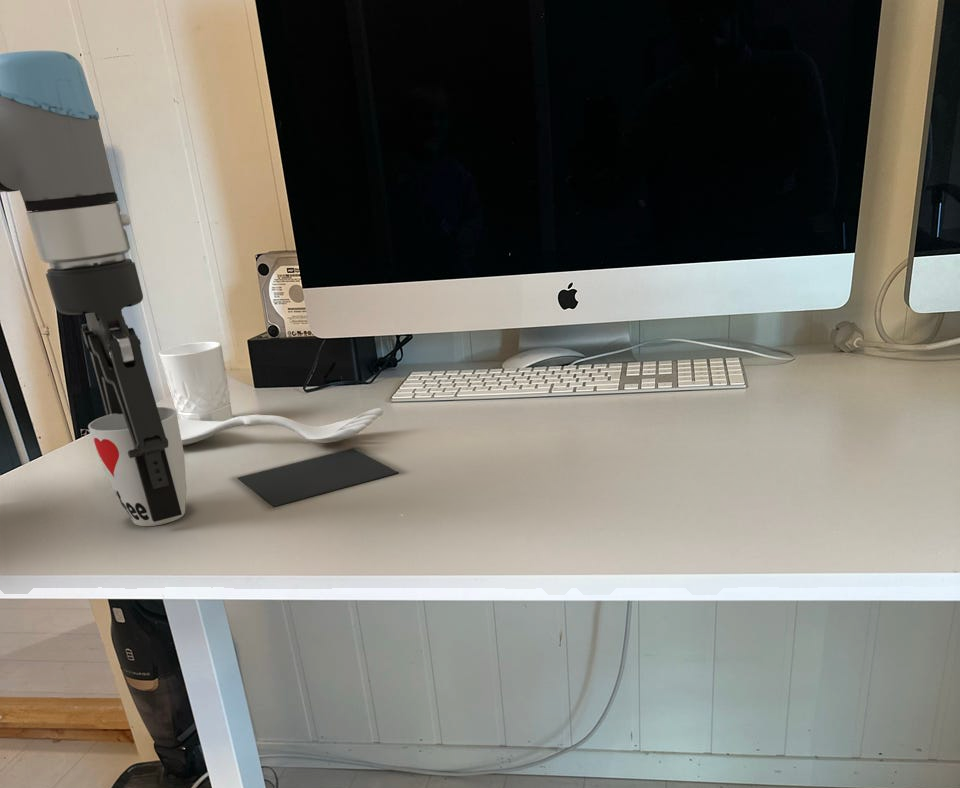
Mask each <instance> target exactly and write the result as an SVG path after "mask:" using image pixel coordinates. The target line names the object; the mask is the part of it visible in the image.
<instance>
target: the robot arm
mask: <svg viewBox="0 0 960 788" xmlns="http://www.w3.org/2000/svg"><path fill="white" fill-rule="evenodd" d="M99 120H100V113H99V112H98V110H97V109H96V106H95V103H94V99H93V96H92V94H91V91H90V87H89V85H88V81H87V78H86V75H85V72H84V69H83V66H82V64H81V63H80V61H79V60H78V59H77V58H76V57H75V56H74V55H72V54H70V53H68V52H64V51H58V50H26V51H25V50H21V51H12V52H11V51H10V52H5V53H0V193H11V192H13V193H14V192H19V193H20V196H21V198H22V200H23V201H22V202H23V203H24V206H25V210H26V216H27V220H28V223H29V226H30V229H31V233H32V236H33V240H34V243H35V248H36V250H37V252H38V257H39V259H40V261H42V262H43V263H45V264H49V268H48V269H47V270H46V273H45V277H46V281H47V284H48V288H49V290H50V294H51V297H52V299H53V303H54V306H55V309H56V311H57V312H58V313H60V314H61V315H67V316H68V315H69V316H70V315H71V316H74V315H85V319H86V323H83V324H81V332H82V336H83V340H84V343H85V345H86V348H87V349H88V351H89V354H90V358H91V362H92V366H93V369H94V373H95V376H96V381H97V384H98V387H99V391H100V396H101V399H102V402H103V406H104V411H105V413H106V415H110V414H123V415H124V418H125V421H126V424H127V427H128V429H129V433H130V436H131V439H132V441H133V444H134V450H130V451H128V456H129V458H134V457H135V461H136V464H137V468H138V471H139V475H140V478H141V482H142V486H143V489H144V493H145V496H146V500H147V503H148V507H149V510H150V514H151V517H152V520H153V521H154V522H156V521H160V520H164V519H167V518H171V517H175V516H179V515H182V513H181V509H180V505H179V501H178V498H177V494H176V490H175V486H174V483H173V479H172V475H171V471H170V468H169V464H168V460H167V456H166V453H165V448H168V440H167V438H166V436H165V433H164V429H163V426H162V422H161V419H160V416H159V412H158V409H157V407H158V406H157V402H156V399H155V395H154V392H153V388H152V385H151V382H150V379H149V375H148V372H147V367H146V364H145V361H144V356H143V352H142V348H141V345H142V343H141V339H140V338H139V337H138V335H137V333H136V331H135V328H134V327H129V326H128V324H127V323H126V320H125V317H124V315H123V312H122V310H123V309H124V308H130V307H133V306H137V305H139V304H140V303H141V302H142V301H143V300H144V294H143V293H144V292H143V290H142V285H141V282H140V278H139V273H138V271H137V267H136V262H135V261H132V259H131V258H126V254H127V253H128V252H130V250H131V245H130V242H129V237H128V233H127V230H126V229H125V227H127V226H130V224H131V218H130V216H129V215H128V214H127V213H121V206H120V205H119V198H118V194H117V192H116V188H115V185H114V180H113V175H112V171H111V167H110V163H109V159H108V155H107V151H106V146H105V141H104V139H103V135H102V129H101V126H100V121H99ZM149 436H154V437H150V438H146V437H149ZM144 438H146V439H144Z"/></svg>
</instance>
